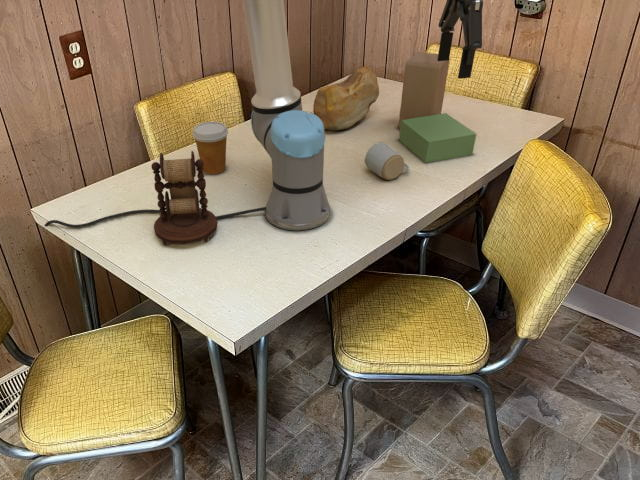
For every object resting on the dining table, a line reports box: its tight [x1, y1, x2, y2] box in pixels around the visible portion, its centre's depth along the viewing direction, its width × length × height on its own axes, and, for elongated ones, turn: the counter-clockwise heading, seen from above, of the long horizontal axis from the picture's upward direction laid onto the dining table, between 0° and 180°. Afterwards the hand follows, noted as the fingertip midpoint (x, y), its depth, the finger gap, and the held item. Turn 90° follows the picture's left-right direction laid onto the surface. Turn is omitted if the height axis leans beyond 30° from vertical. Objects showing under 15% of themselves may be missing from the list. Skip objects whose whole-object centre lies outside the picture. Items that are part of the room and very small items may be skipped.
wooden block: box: [398, 51, 451, 129], centre depth 171 cm, size 10×10×20 cm
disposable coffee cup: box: [192, 121, 229, 175], centre depth 159 cm, size 10×10×12 cm
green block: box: [398, 112, 477, 164], centre depth 164 cm, size 14×16×6 cm
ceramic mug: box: [364, 142, 409, 181], centre depth 152 cm, size 11×8×8 cm
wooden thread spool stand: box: [150, 150, 218, 246], centre depth 132 cm, size 15×15×20 cm
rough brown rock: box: [312, 65, 380, 132], centre depth 181 cm, size 23×17×15 cm
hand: (453, 68), depth 143 cm, fingers open, 13 cm apart
